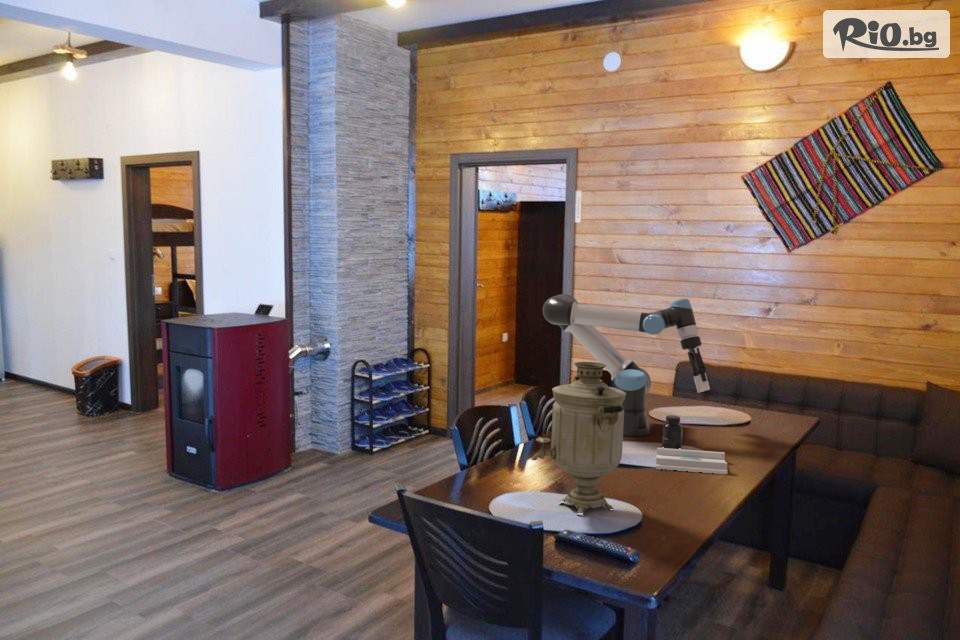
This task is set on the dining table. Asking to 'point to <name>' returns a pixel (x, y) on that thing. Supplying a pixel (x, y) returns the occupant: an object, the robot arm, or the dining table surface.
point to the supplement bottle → (672, 433)
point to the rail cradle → (691, 461)
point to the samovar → (586, 433)
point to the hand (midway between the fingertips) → (703, 391)
